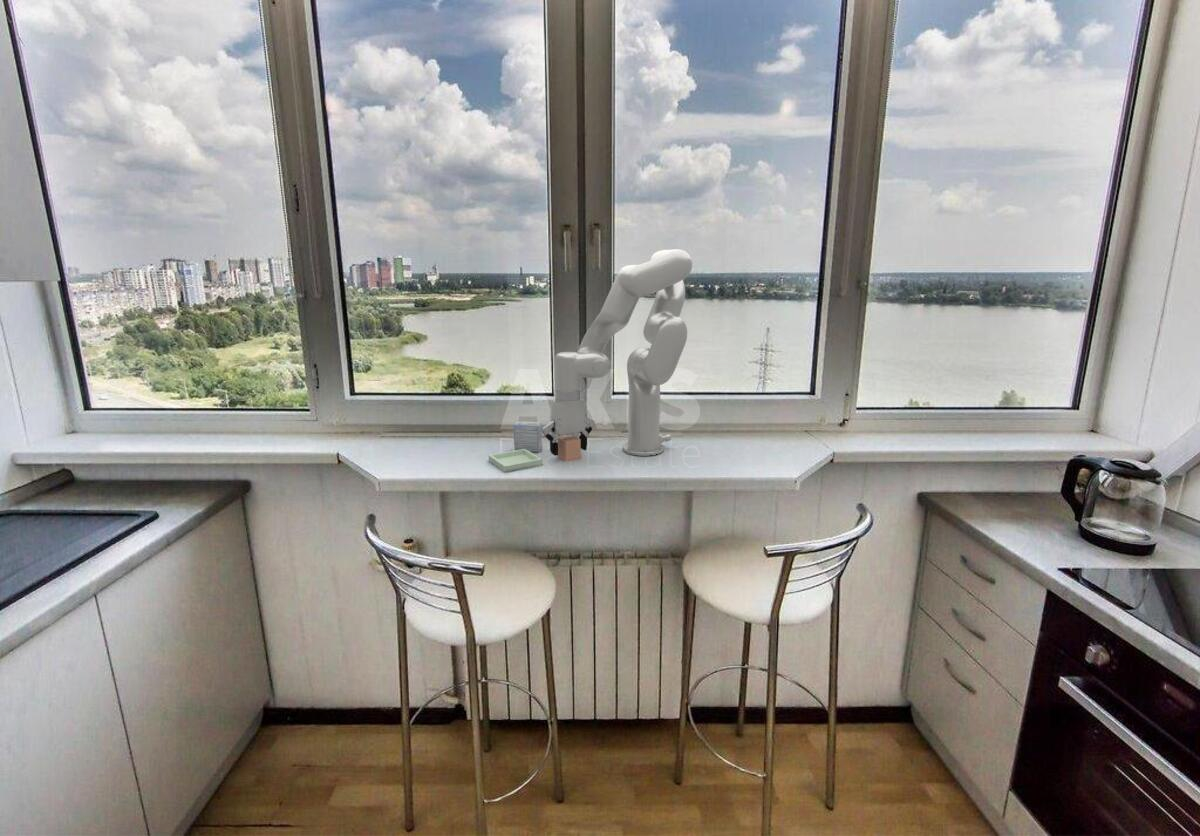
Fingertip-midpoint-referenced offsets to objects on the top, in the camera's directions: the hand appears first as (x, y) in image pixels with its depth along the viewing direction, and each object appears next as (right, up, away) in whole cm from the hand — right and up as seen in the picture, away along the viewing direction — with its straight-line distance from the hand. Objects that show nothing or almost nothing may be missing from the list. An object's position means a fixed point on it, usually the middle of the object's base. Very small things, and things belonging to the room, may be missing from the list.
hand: (568, 451), depth 167 cm
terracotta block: (0, -2, 0) cm, 2 cm away
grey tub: (+1, +1, +10) cm, 10 cm away
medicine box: (-13, 0, +7) cm, 15 cm away
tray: (-15, -3, -4) cm, 16 cm away
